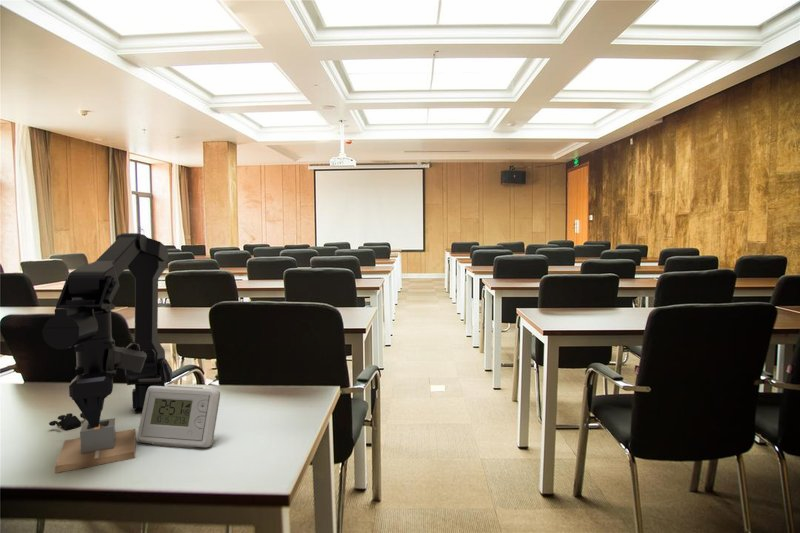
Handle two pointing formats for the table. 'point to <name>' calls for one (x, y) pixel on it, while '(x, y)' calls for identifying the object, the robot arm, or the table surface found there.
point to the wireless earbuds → (68, 421)
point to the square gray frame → (98, 436)
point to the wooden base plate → (96, 452)
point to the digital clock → (179, 416)
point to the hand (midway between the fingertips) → (97, 418)
